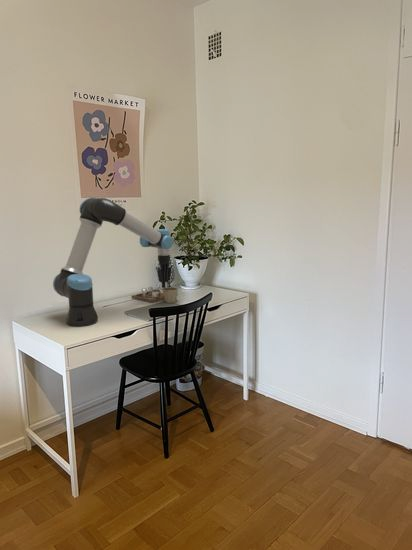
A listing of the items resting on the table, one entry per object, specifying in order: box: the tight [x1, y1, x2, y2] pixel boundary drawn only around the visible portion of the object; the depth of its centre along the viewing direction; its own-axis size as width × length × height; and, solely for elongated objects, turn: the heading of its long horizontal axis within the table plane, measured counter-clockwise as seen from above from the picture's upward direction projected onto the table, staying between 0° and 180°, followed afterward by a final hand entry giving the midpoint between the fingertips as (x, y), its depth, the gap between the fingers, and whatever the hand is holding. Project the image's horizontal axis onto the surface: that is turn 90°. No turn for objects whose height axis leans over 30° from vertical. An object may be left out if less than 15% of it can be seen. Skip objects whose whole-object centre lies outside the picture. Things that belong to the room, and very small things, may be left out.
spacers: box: [141, 284, 162, 299], centre depth 256 cm, size 17×14×5 cm
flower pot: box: [161, 286, 179, 304], centre depth 245 cm, size 9×9×9 cm
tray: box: [131, 289, 179, 304], centre depth 256 cm, size 22×17×3 cm
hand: (165, 292), depth 262 cm, fingers closed
